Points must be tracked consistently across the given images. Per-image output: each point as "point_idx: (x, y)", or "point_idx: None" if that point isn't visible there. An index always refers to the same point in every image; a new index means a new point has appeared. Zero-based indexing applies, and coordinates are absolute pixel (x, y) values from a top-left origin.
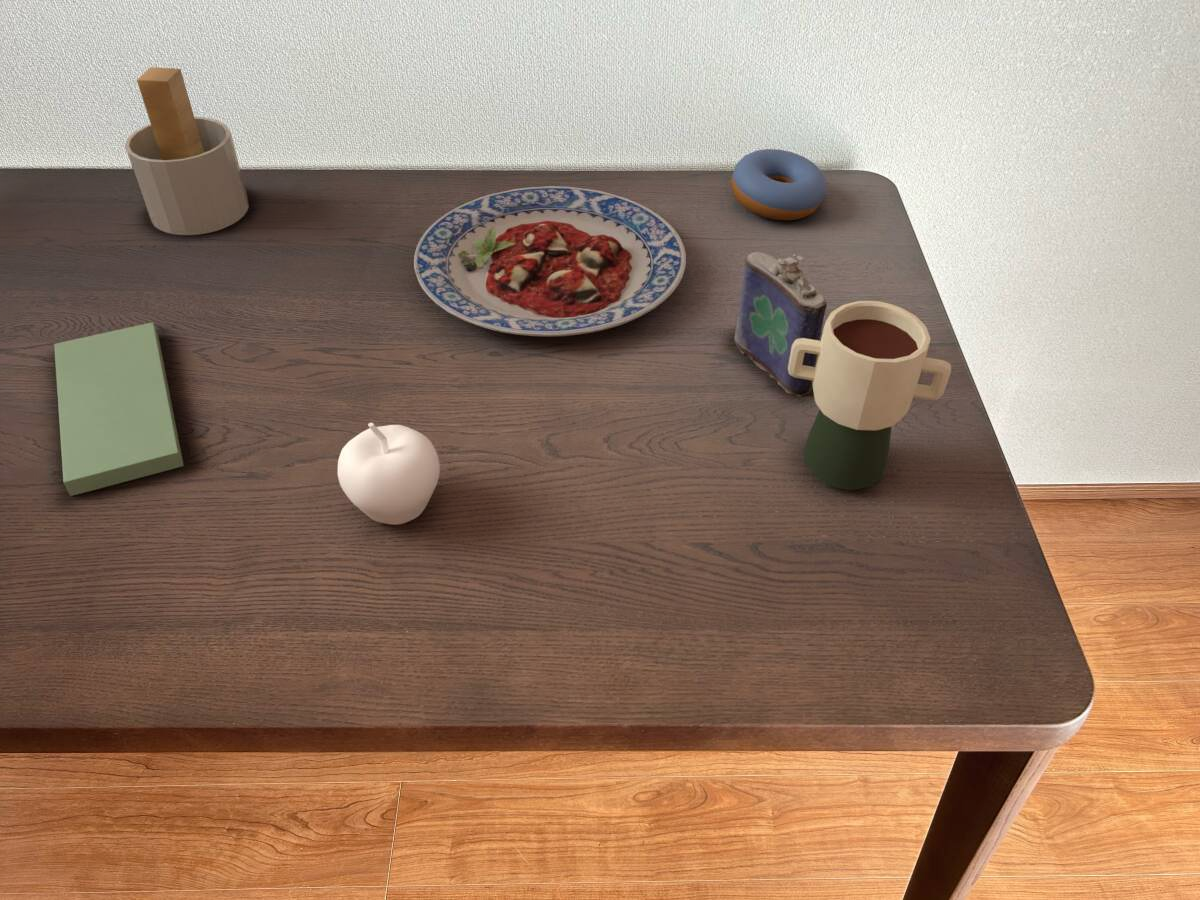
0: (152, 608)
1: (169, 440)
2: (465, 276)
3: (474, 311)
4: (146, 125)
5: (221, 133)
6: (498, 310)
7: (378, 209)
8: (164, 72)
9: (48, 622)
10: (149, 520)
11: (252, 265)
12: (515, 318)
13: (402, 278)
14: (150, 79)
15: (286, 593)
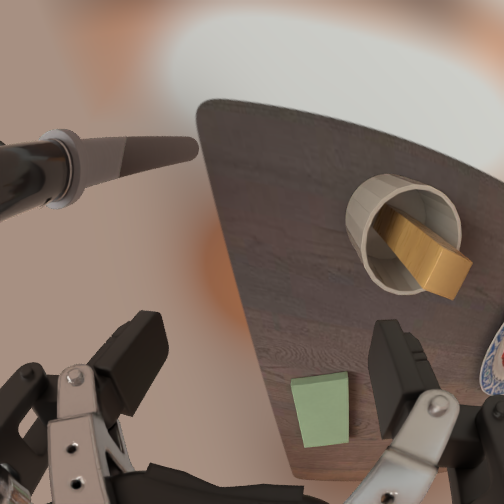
0: (330, 466)
1: (346, 438)
2: (502, 342)
3: (487, 383)
4: (383, 199)
5: (449, 213)
6: (496, 372)
7: (500, 250)
8: (455, 271)
9: (301, 466)
10: (332, 449)
11: (414, 310)
12: (496, 385)
13: (480, 334)
14: (437, 291)
15: (368, 464)
